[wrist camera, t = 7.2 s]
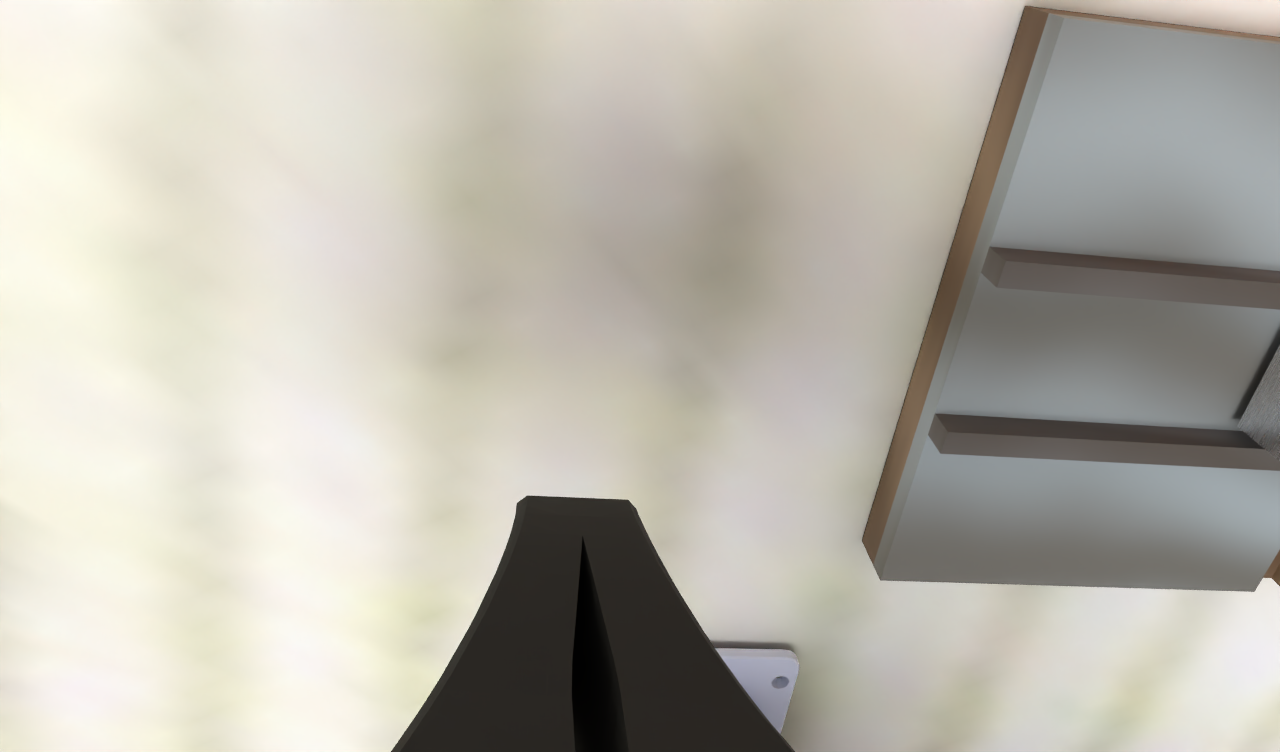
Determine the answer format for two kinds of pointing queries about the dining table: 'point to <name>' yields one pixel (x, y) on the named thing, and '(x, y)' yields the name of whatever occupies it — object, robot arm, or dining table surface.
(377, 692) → the dining table surface
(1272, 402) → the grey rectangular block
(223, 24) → the dining table surface
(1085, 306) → the slide bolt latch board
